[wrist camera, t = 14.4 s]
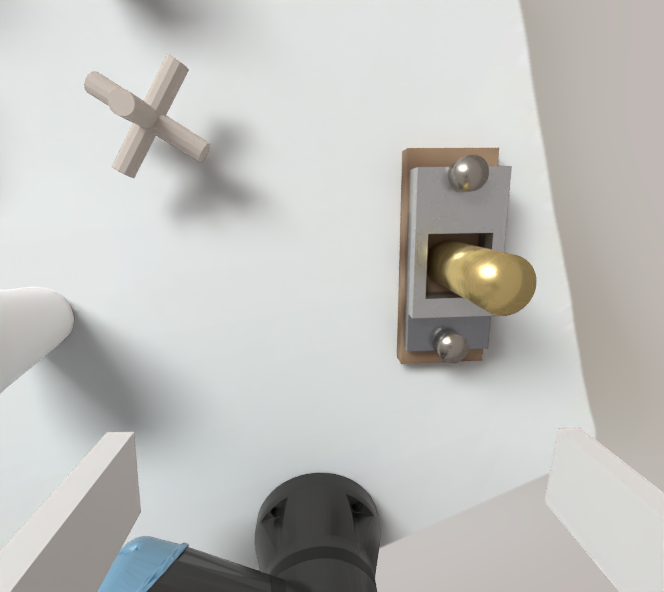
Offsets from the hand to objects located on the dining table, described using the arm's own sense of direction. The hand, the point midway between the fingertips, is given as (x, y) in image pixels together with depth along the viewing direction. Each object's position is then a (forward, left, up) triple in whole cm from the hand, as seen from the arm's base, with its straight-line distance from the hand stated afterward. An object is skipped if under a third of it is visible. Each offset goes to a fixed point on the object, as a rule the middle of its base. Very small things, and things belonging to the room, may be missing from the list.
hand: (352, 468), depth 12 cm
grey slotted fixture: (+2, -13, -28) cm, 31 cm away
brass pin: (+2, -13, -28) cm, 31 cm away
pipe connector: (+15, +14, -30) cm, 36 cm away
